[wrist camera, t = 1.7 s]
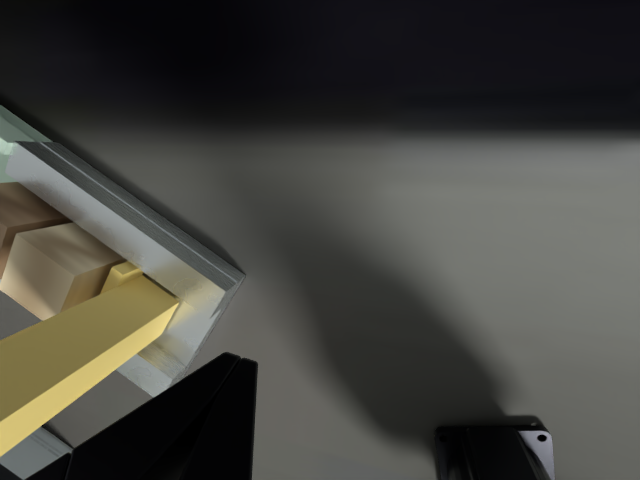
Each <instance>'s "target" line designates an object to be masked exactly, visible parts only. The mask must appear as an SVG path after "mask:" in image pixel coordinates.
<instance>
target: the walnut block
mask: <svg viewBox="0 0 640 480" xmlns="http://www.w3.org/2000/svg"><path fill="white" fill-rule="evenodd" d="M68 223H73V221H72V220H70V219H69V218H68V217H66V216H65V215H63V214H62V213H61V212H59V211H58V210H57V209H55V208H54V207H52V206H51V205H50V204H48V203H47V202H45V201H44V200H43V199H41V198H40V197H38V196H37V195H36V194H34V193H33V192H31V191H30V190H29V189H27V188H26V187H24V186H23V185H22V184H20V183H19V182H5V183H0V280H1V279H2V276H3V273H4V270H5V267H6V264H7V261H8V257H9V254H10V251H11V248H12V245H13V242H14V238H15V235H16V233H21V232H26V231H31V230H37V229H42V228H47V227H52V226H57V225H63V224H68Z"/></svg>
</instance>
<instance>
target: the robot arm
mask: <svg viewBox="0 0 640 480" xmlns="http://www.w3.org/2000/svg"><path fill="white" fill-rule="evenodd" d="M257 373H258V363H257V362H256V361H253V360H250V359H247V358H242V359H241V357H240V356H238V355H235V354H232V353H229V352H225V353H222V354H221V355H219V356H218V357H216V358H215V359H213V360H211V361H210V362H208V363H207V364H205V365H204V366H202V367H201V368H199V369H197V370H196V371H194V372H193V373H191V374H190V375H188V376H186V377H185V378H183V379H182V380H180V381H179V382H177V383H175V384H174V385H172V386H171V387H169V388H168V389H166V390H165V391H163V392H161V393H160V394H158V395H157V396H155V397H154V398H152V399H150V400H149V401H147V402H146V403H144V404H143V405H141V406H139V407H138V408H136V409H135V410H133V411H132V412H130V413H129V414H127V415H125V416H124V417H122V418H121V419H119V420H118V421H116V422H114V423H113V424H111V425H110V426H108V427H107V428H105V429H104V430H102V431H100V432H99V433H97V434H96V435H94V436H93V437H91V438H89V439H88V440H86V441H85V442H83V443H82V444H80V445H78V446H77V447H75V448H74V449H73V450H72V452H71V453H70V452H67V453H66V454H64V455H63V456H61V457H59V458H58V459H56V460H55V461H53V462H52V463H50V464H48V465H47V466H45V467H44V468H42V469H40V470H39V471H37V472H36V473H34V474H32V475H31V476H29V477H27V478H26V479H24V480H252V465H253V447H254V428H255V410H256V391H257ZM541 434H542V436H539V435H541ZM434 435H435V442H436V448H437V454H438V460H439V467H440V473H441V479H442V480H555V473H554V461H553V448H552V437H551V435H550V433H549V431H548V430H547V429H546V428H545V427H543V426H473V427H438V428H437V429H436V430H435V431H434ZM442 435H444V436H445V437H441V436H442Z"/></svg>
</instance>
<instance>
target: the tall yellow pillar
mask: <svg viewBox="0 0 640 480" xmlns="http://www.w3.org/2000/svg"><path fill="white" fill-rule="evenodd" d="M143 273H144V272H143V271H141V270H140V269H139V268H137V267H136V266H134V265H133V264H132V263H130V262H129V261H127V262H124V263H121V264H119V265H116V266H113V267H112V268H111V270H110V273H109V275H108V277H107V279H106V282H105V284H104V286H103V288H102V290H101V293H100V295H98V296H96V297H94V298H92V299H89V300H87V301H85V302H83V303H81V304H78V305H76V306H74V307H72V308H70V309H68V310H65V311H63V312H61V313H59V314H57V315H55V316H52V317H50V318H48V319H46V320H44V321H41V322H39V323H37V324H35V325H33V326H31V327H28V328H26V329H24V330H22V331H20V332H18V333H15V334H13V335H11V336H9V337H7V338H4V339H2V340H0V457H1V456H2V455H4V454H5V453H6V452H7V451H9V450H10V449H11V448H13V447H14V446H15V445H17V444H18V443H19V442H21V441H22V440H23V439H25V438H26V437H27V436H29V435H30V434H31V433H32V432H34V431H35V430H36V429H38V428H39V427H40V426H42V425H43V424H44V423H46V422H47V421H48V420H50V419H51V418H52V417H54V416H55V415H56V414H58V413H59V412H60V411H61V410H63V409H64V408H65V407H67V406H68V405H69V404H71V403H72V402H73V401H75V400H76V399H77V398H79V397H80V396H81V395H83V394H84V393H85V392H86V391H88V390H89V389H90V388H92V387H93V386H94V385H96V384H97V383H98V382H100V381H101V380H102V379H104V378H105V377H106V376H108V375H109V374H110V373H111V372H113V371H114V370H115V369H117V368H118V367H119V366H121V365H122V364H123V363H125V362H126V361H127V360H129V359H130V358H131V357H133V356H134V355H135V354H137V353H138V352H139V351H140V350H142V349H143V348H144V347H146V346H147V345H148V344H150V343H151V342H152V341H154V340H155V339H156V338H158V337H159V336H160V335H161V334H162V333H163V331H164V329H165V327H166V325H167V324H168V322H169V320H170V318H171V316H172V315H173V313H174V311H175V309H176V307H177V306H178V304H179V301H177V300H176V299H175V298H173V297H172V296H170V295H169V294H168V293H166V292H165V291H163V290H162V289H161V288H159V287H158V286H156V285H155V284H154V283H152V282H151V281H150V280H148V279H147V278H145V277H144V276H143Z"/></svg>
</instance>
